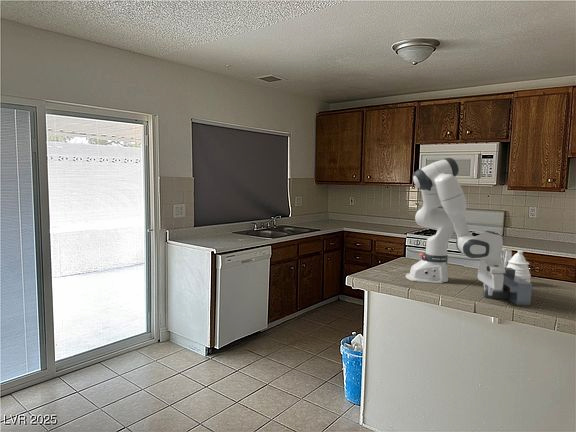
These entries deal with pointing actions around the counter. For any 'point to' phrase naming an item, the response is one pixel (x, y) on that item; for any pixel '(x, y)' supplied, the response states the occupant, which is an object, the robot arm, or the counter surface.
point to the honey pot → (520, 266)
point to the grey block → (516, 288)
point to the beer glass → (506, 257)
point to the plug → (497, 294)
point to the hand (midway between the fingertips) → (488, 294)
